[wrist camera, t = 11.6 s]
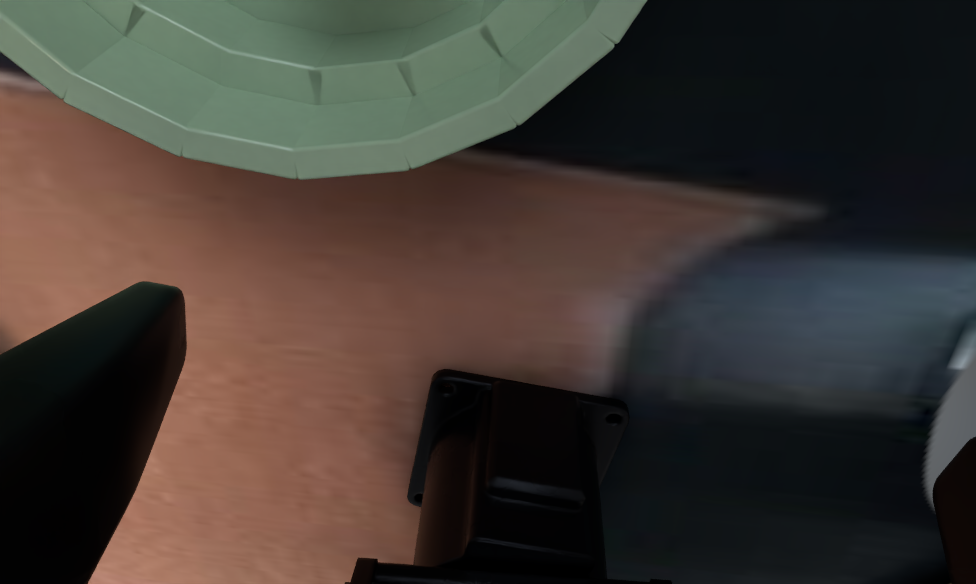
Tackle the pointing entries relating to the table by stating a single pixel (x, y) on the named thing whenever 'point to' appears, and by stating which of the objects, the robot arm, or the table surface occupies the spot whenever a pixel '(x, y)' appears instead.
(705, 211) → the table surface
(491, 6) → the bowl
